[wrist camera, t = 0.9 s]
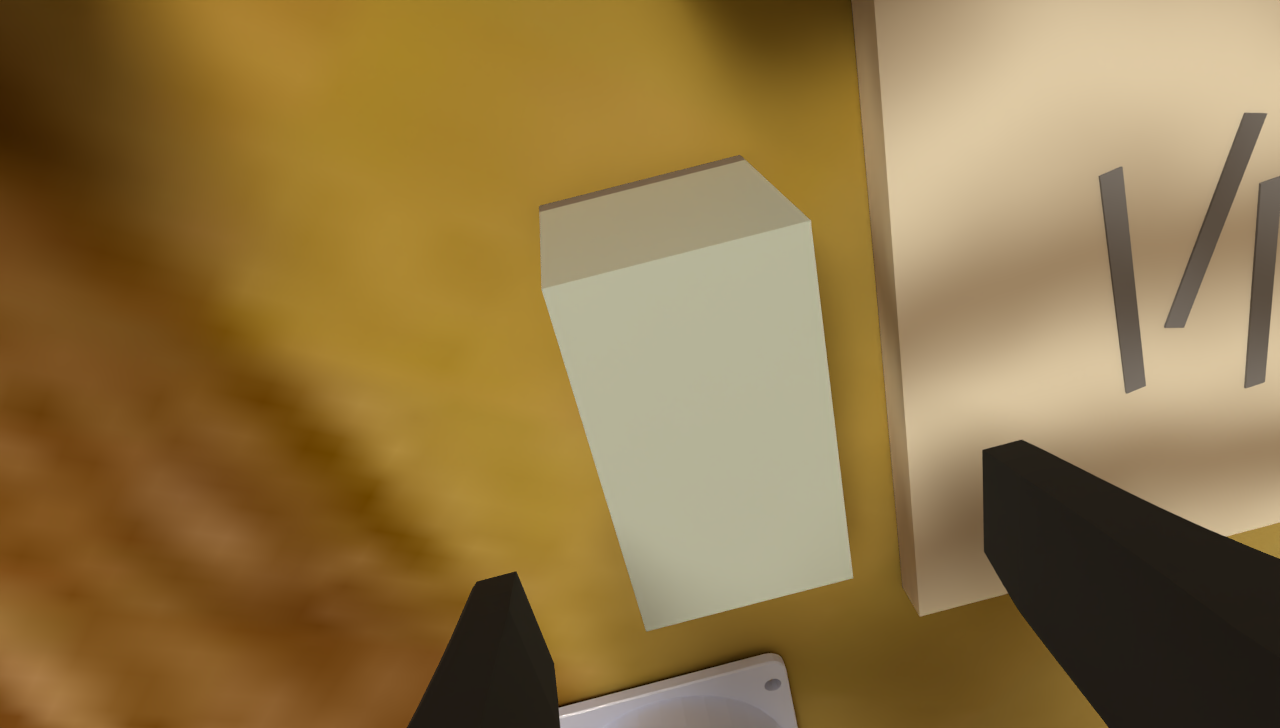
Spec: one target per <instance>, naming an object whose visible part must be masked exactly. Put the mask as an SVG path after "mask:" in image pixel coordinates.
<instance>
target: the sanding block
mask: <svg viewBox="0 0 1280 728" xmlns="http://www.w3.org/2000/svg"><path fill="white" fill-rule="evenodd" d="M539 214H540V249H541V284H542V292H543V295H544V298H545V302H546V305H547V308H548V312H549V315H550V318H551V321H552V325H553V328H554V331H555V334H556V338H557V341H558V344H559V347H560V351H561V354H562V357H563V361H564V364H565V367H566V370H567V374H568V377H569V380H570V383H571V387H572V390H573V393H574V397H575V400H576V403H577V406H578V410H579V413H580V416H581V419H582V423H583V426H584V429H585V433H586V436H587V439H588V442H589V446H590V449H591V452H592V455H593V459H594V462H595V465H596V469H597V472H598V475H599V478H600V482H601V485H602V488H603V491H604V495H605V498H606V501H607V504H608V508H609V511H610V514H611V518H612V521H613V524H614V527H615V531H616V534H617V537H618V540H619V544H620V547H621V550H622V554H623V557H624V560H625V563H626V567H627V570H628V573H629V576H630V580H631V583H632V586H633V590H634V593H635V596H636V599H637V603H638V606H639V609H640V612H641V616H642V619H643V622H644V625H645V629H646V631H650V630H654V629H658V628H662V627H666V626H670V625H673V624H677V623H681V622H685V621H689V620H693V619H697V618H701V617H705V616H708V615H712V614H716V613H720V612H724V611H728V610H732V609H736V608H739V607H743V606H747V605H751V604H755V603H759V602H763V601H767V600H770V599H774V598H778V597H782V596H786V595H790V594H794V593H798V592H801V591H805V590H809V589H813V588H817V587H821V586H825V585H829V584H832V583H836V582H840V581H844V580H848V579H852V578H853V572H852V564H851V556H850V547H849V539H848V530H847V522H846V513H845V505H844V497H843V488H842V480H841V471H840V463H839V455H838V446H837V438H836V429H835V421H834V413H833V404H832V396H831V387H830V379H829V371H828V362H827V354H826V345H825V337H824V328H823V320H822V312H821V303H820V295H819V286H818V278H817V270H816V261H815V253H814V244H813V236H812V228H811V220H810V219H809V218H807V217H806V216H805V215H804V214H803V213H802V212H801V211H800V210H799V209H798V208H797V207H796V206H794V205H793V204H792V203H791V202H790V201H789V200H788V199H787V198H786V197H785V196H784V195H783V194H782V193H780V192H779V191H778V190H777V189H776V188H775V187H774V186H773V185H772V184H771V183H770V182H769V181H767V180H766V179H765V178H764V177H763V176H762V175H761V174H760V173H759V172H758V171H757V170H756V169H755V168H753V167H752V166H751V165H750V164H749V163H748V162H747V161H746V160H745V159H744V158H743V157H742V156H740V155H738V156H734V157H730V158H726V159H722V160H718V161H714V162H710V163H706V164H703V165H699V166H695V167H691V168H687V169H683V170H679V171H675V172H671V173H667V174H663V175H659V176H655V177H651V178H647V179H643V180H639V181H636V182H632V183H628V184H624V185H620V186H616V187H612V188H608V189H604V190H600V191H596V192H592V193H588V194H584V195H580V196H576V197H573V198H569V199H565V200H561V201H557V202H553V203H549V204H545V205H541V206H539Z"/></svg>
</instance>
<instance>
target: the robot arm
mask: <svg viewBox="0 0 1280 728" xmlns="http://www.w3.org/2000/svg"><path fill="white" fill-rule="evenodd" d="M982 465H983V530H984V553H985V554H986V556H987V558H988V560H989V561H990V563H991V565H992V566H993V568H994V570H995V572H996V573H997V575H998V577H999V579H1000V580H1001V582H1002V584H1003V586H1004V587H1005V589H1006V590H1007V592H1008V594H1009V595H1010V597H1011V599H1012V600H1013V602H1014V604H1015V605H1016V607H1017V608H1018V610H1019V611H1020V613H1021V614H1022V616H1023V617H1024V618H1025V620H1026V621H1027V622H1028V624H1029V625H1030V626H1031V627H1032V629H1033V630H1034V631H1035V633H1036V634H1037V635H1038V637H1039V638H1040V639H1041V641H1042V642H1043V643H1044V644H1045V646H1046V647H1047V648H1048V650H1049V651H1050V652H1051V654H1052V655H1053V656H1054V658H1055V659H1056V660H1057V661H1058V663H1059V664H1060V665H1061V667H1062V668H1063V669H1064V670H1065V672H1066V673H1067V674H1068V676H1069V677H1070V678H1071V679H1072V681H1073V682H1074V683H1075V685H1076V686H1077V687H1078V688H1079V690H1080V691H1081V692H1082V694H1083V695H1084V696H1085V697H1086V699H1087V700H1088V701H1089V703H1090V704H1091V705H1092V706H1093V708H1094V709H1095V710H1096V712H1097V713H1098V714H1099V715H1100V717H1101V718H1102V719H1103V721H1104V722H1105V723H1106V724H1107V726H1108V727H1109V728H1280V559H1279V558H1276V557H1274V556H1271V555H1268V554H1266V553H1263V552H1261V551H1258V550H1256V549H1254V548H1251V547H1249V546H1246V545H1244V544H1242V543H1239V542H1237V541H1235V540H1232V539H1230V538H1228V537H1225V536H1223V535H1220V534H1218V533H1216V532H1213V531H1211V530H1209V529H1206V528H1204V527H1202V526H1200V525H1197V524H1195V523H1193V522H1191V521H1189V520H1186V519H1184V518H1182V517H1180V516H1177V515H1175V514H1173V513H1171V512H1169V511H1167V510H1165V509H1162V508H1160V507H1158V506H1156V505H1154V504H1152V503H1150V502H1148V501H1146V500H1143V499H1141V498H1139V497H1137V496H1135V495H1133V494H1131V493H1129V492H1127V491H1125V490H1123V489H1121V488H1119V487H1117V486H1115V485H1113V484H1111V483H1109V482H1107V481H1105V480H1103V479H1101V478H1099V477H1097V476H1095V475H1093V474H1091V473H1089V472H1087V471H1085V470H1083V469H1081V468H1079V467H1077V466H1075V465H1073V464H1071V463H1069V462H1067V461H1065V460H1063V459H1061V458H1059V457H1057V456H1055V455H1053V454H1051V453H1049V452H1047V451H1045V450H1043V449H1041V448H1039V447H1037V446H1035V445H1033V444H1030V443H1028V442H1026V441H1024V440H1018V441H1014V442H1010V443H1007V444H1003V445H999V446H995V447H991V448H987V449H984V450H982ZM771 679H772V680H771ZM407 728H798V726H797V721H796V716H795V711H794V706H793V701H792V696H791V691H790V686H789V681H788V676H787V671H786V667H785V664H784V662H783V659H782V658H781V656H779V655H777V654H773V653H767V654H762V655H758V656H754V657H750V658H747V659H743V660H739V661H735V662H731V663H728V664H724V665H720V666H716V667H712V668H708V669H705V670H701V671H697V672H693V673H689V674H686V675H682V676H678V677H674V678H670V679H666V680H663V681H659V682H655V683H651V684H647V685H644V686H640V687H636V688H632V689H628V690H624V691H621V692H617V693H613V694H609V695H605V696H602V697H598V698H594V699H590V700H586V701H582V702H579V703H575V704H571V705H567V706H563V707H560V708H559V707H558V697H557V687H556V678H555V669H554V662H553V660H552V658H551V655H550V653H549V650H548V648H547V645H546V643H545V640H544V638H543V636H542V633H541V631H540V628H539V626H538V623H537V621H536V618H535V616H534V614H533V611H532V609H531V606H530V604H529V601H528V599H527V596H526V594H525V592H524V589H523V587H522V584H521V582H520V579H519V577H518V574H517V572H512V573H508V574H504V575H501V576H497V577H493V578H489V579H485V580H481V581H478V582H476V584H475V586H474V587H473V589H472V591H471V593H470V595H469V598H468V600H467V602H466V605H465V607H464V609H463V612H462V614H461V616H460V618H459V621H458V623H457V625H456V628H455V630H454V632H453V634H452V637H451V639H450V641H449V643H448V645H447V648H446V650H445V652H444V654H443V656H442V658H441V661H440V663H439V665H438V667H437V669H436V671H435V673H434V675H433V677H432V679H431V681H430V683H429V685H428V687H427V689H426V691H425V693H424V695H423V697H422V700H421V702H420V704H419V706H418V708H417V710H416V712H415V713H414V715H413V717H412V719H411V721H410V723H409V725H408V727H407Z"/></svg>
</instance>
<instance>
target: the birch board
mask: <svg viewBox="0 0 1280 728" xmlns="http://www.w3.org/2000/svg"><path fill="white" fill-rule="evenodd" d="M851 3H852V14H853V26H854V37H855V49H856V60H857V72H858V83H859V95H860V106H861V118H862V129H863V141H864V152H865V164H866V175H867V187H868V198H869V210H870V221H871V233H872V244H873V255H874V267H875V278H876V290H877V301H878V313H879V324H880V336H881V347H882V359H883V370H884V382H885V393H886V405H887V416H888V428H889V439H890V451H891V462H892V474H893V485H894V497H895V508H896V520H897V531H898V543H899V554H900V566H901V577H902V587H903V589H904V591H905V592H906V594H907V596H908V597H909V599H910V601H911V603H912V604H913V606H914V608H915V609H916V611H917V613H918V614H919V616H924V615H928V614H932V613H936V612H939V611H943V610H947V609H951V608H955V607H959V606H962V605H966V604H970V603H974V602H978V601H981V600H985V599H989V598H993V597H997V596H1001V595H1004V594H1008V592H1007V590H1006V589H1005V587H1004V586H1003V584H1002V582H1001V580H1000V579H999V577H998V575H997V573H996V572H995V570H994V568H993V566H992V565H991V563H990V561H989V560H988V558H987V556H986V554H985V553H984V530H983V465H982V450H984V449H987V448H991V447H995V446H999V445H1003V444H1007V443H1010V442H1014V441H1018V440H1024V441H1026V442H1028V443H1030V444H1033V445H1035V446H1037V447H1039V448H1041V449H1043V450H1045V451H1047V452H1049V453H1051V454H1053V455H1055V456H1057V457H1059V458H1061V459H1063V460H1065V461H1067V462H1069V463H1071V464H1073V465H1075V466H1077V467H1079V468H1081V469H1083V470H1085V471H1087V472H1089V473H1091V474H1093V475H1095V476H1097V477H1099V478H1101V479H1103V480H1105V481H1107V482H1109V483H1111V484H1113V485H1115V486H1117V487H1119V488H1121V489H1123V490H1125V491H1127V492H1129V493H1131V494H1133V495H1135V496H1137V497H1139V498H1141V499H1143V500H1146V501H1148V502H1150V503H1152V504H1154V505H1156V506H1158V507H1160V508H1162V509H1165V510H1167V511H1169V512H1171V513H1173V514H1175V515H1177V516H1180V517H1182V518H1184V519H1186V520H1189V521H1191V522H1193V523H1195V524H1197V525H1200V526H1202V527H1204V528H1206V529H1209V530H1211V531H1213V532H1216V533H1218V534H1220V535H1223V536H1225V537H1226V536H1230V535H1233V534H1237V533H1241V532H1245V531H1249V530H1253V529H1256V528H1260V527H1264V526H1268V525H1272V524H1275V523H1279V522H1280V0H851Z"/></svg>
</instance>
